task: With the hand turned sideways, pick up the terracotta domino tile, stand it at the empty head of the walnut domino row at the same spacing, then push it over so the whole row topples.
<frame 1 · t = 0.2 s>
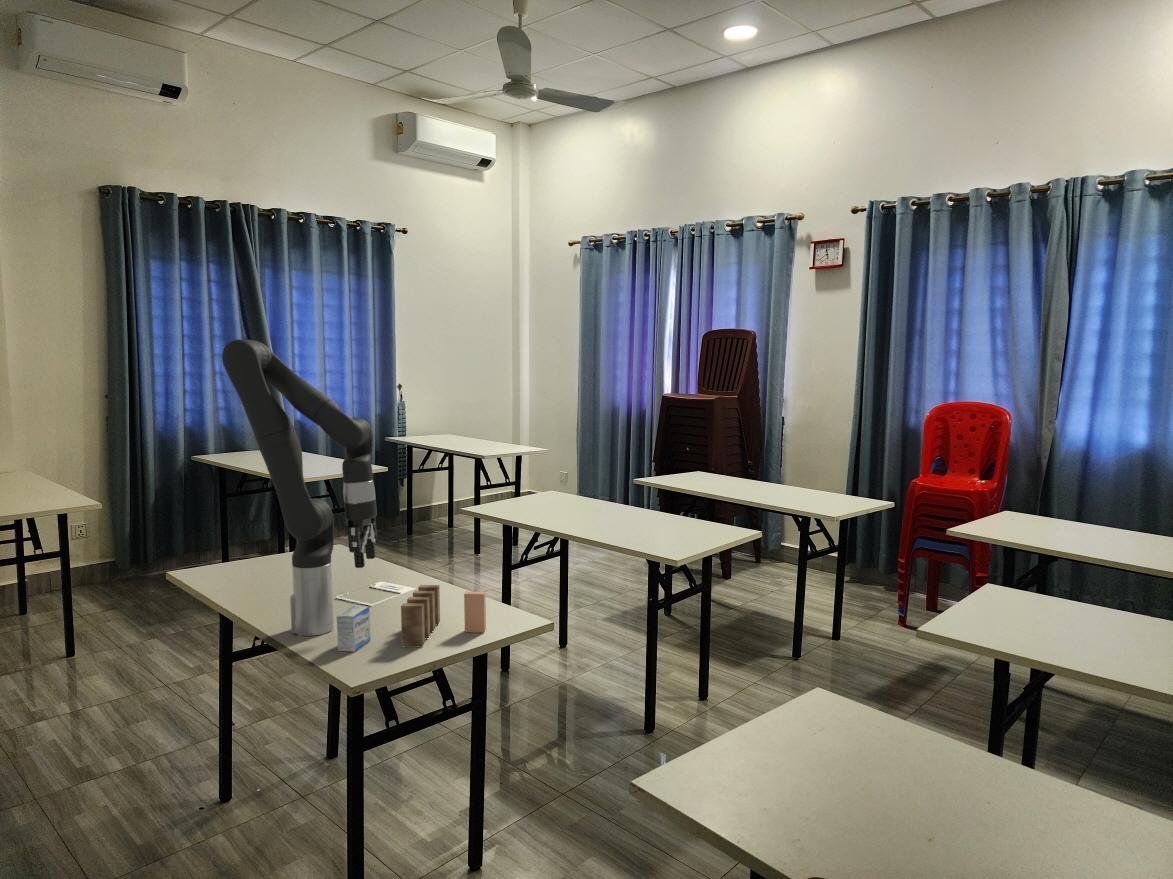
hand: (365, 562, 187), 18 cm above the table, tool pointing down, fingers open, 8 cm apart
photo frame: (376, 596, 219), on the table
tile 2: (429, 623, 194), on the table
tile 5: (413, 645, 179), on the table
medicine box: (354, 646, 178), on the table
tile 3: (424, 630, 189), on the table
tile 4: (419, 637, 184), on the table
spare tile: (475, 631, 188), on the table
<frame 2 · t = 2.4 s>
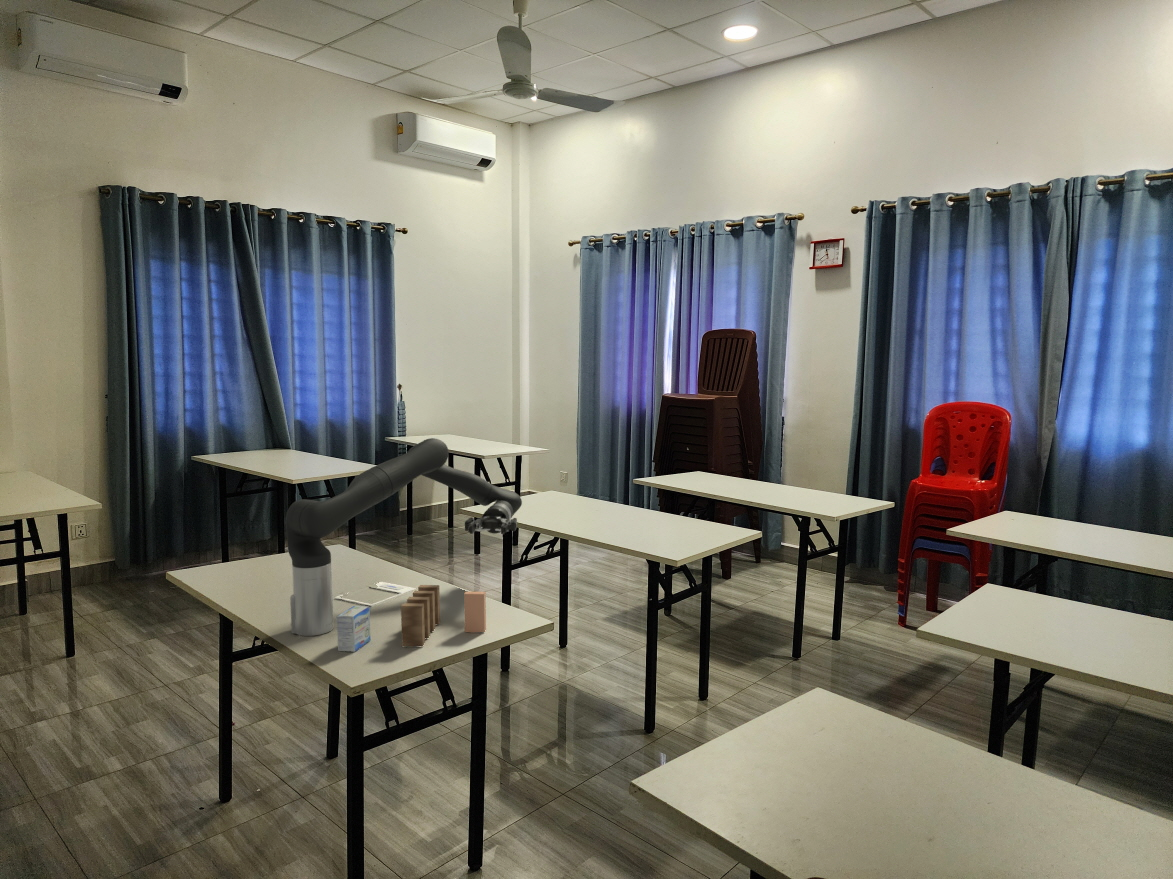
hand: (486, 530, 203), 22 cm above the table, tool horizontal, fingers open, 8 cm apart
nothing on the table moved.
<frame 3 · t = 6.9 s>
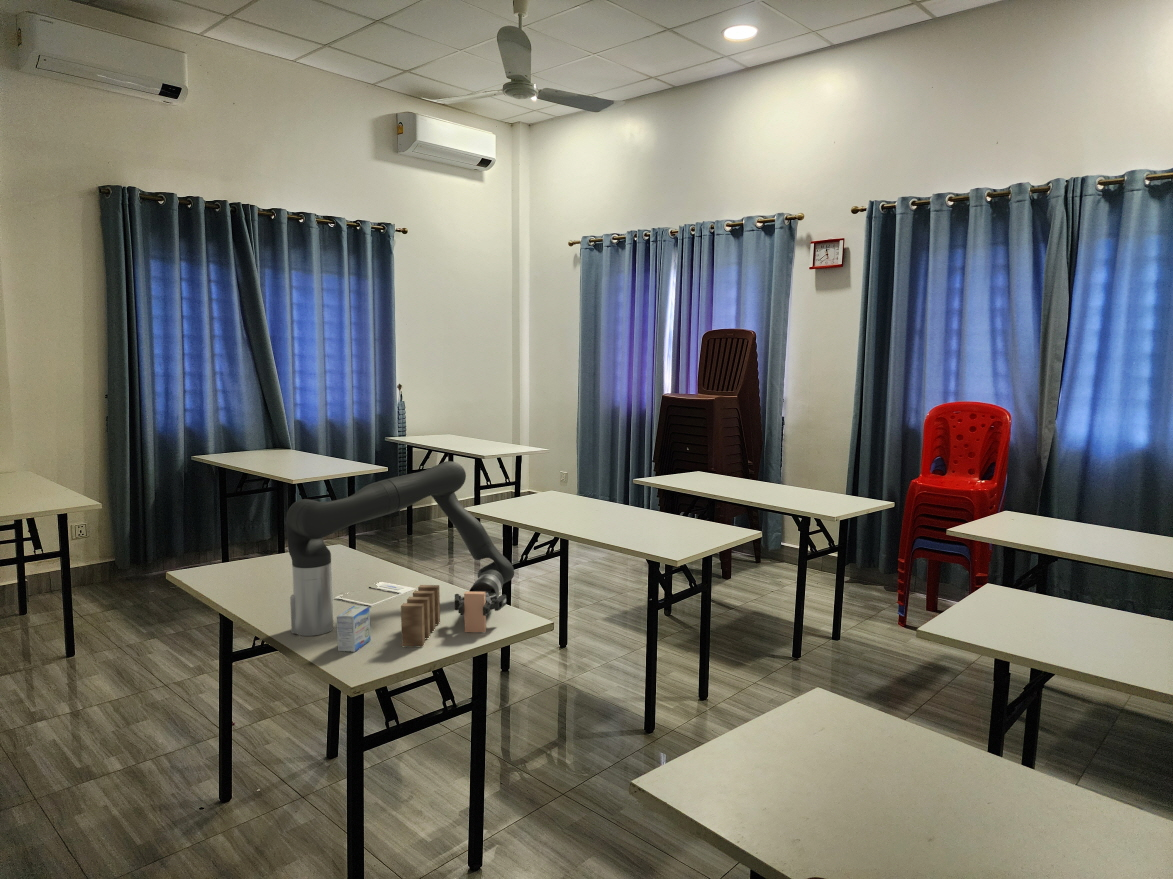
hand: (473, 611, 185), 6 cm above the table, tool horizontal, fingers closed on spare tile, 5 cm apart
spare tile: (475, 631, 188), on the table, touching gripper
everything else where it was.
when the fingers open (7 cm above the table, at t = 13.1 s): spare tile stays where it is, on the table.
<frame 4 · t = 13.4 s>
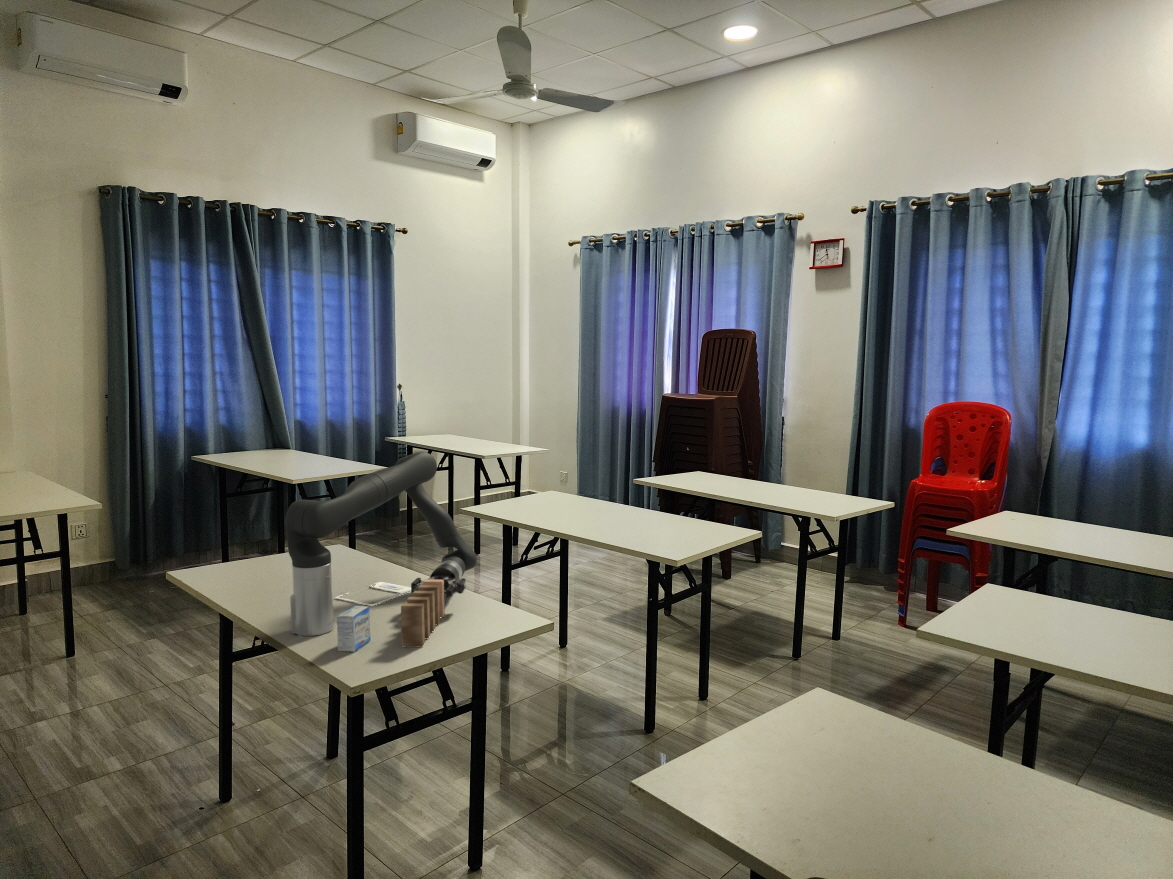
hand: (432, 593, 196), 7 cm above the table, tool horizontal, fingers open, 8 cm apart
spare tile: (434, 617, 199), on the table
everything else where it was.
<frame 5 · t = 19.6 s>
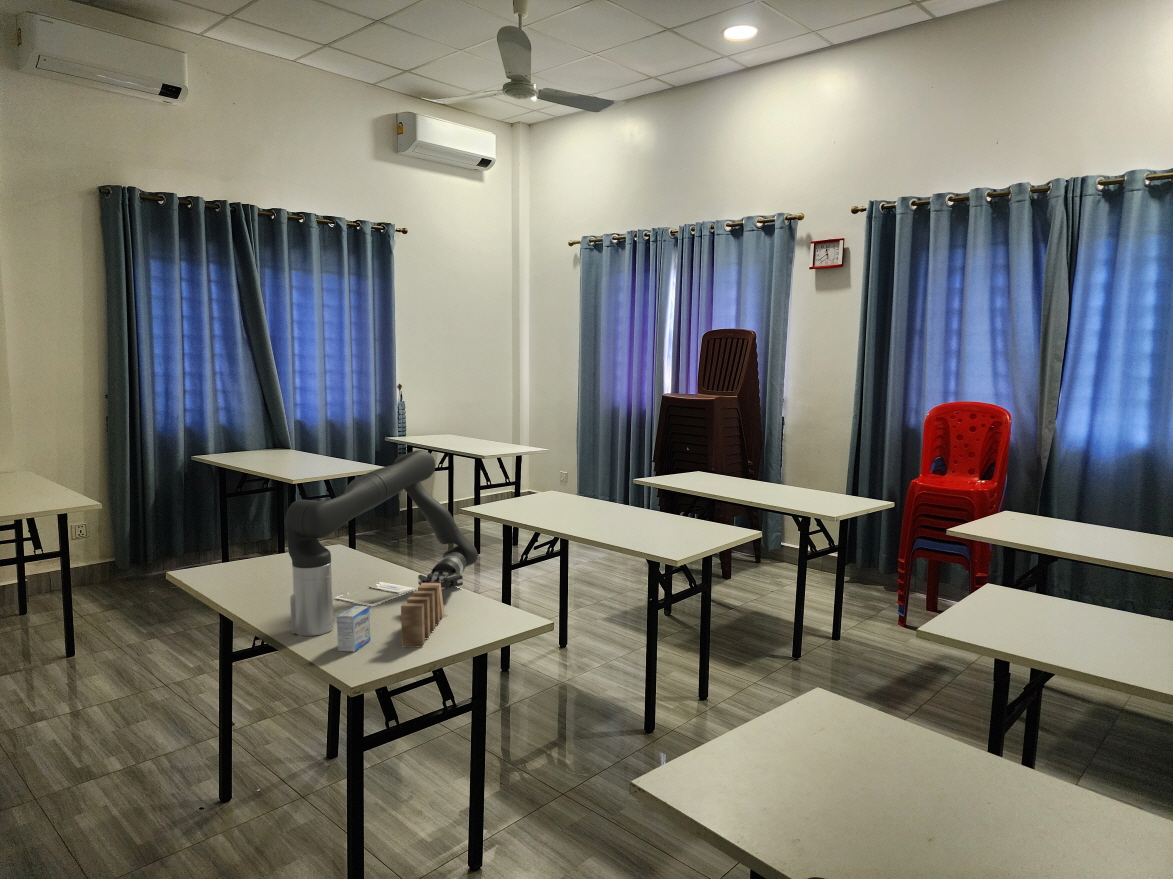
hand: (432, 589, 197), 8 cm above the table, tool horizontal, fingers closed
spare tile: (434, 616, 199), on the table, tilted 20°
everything else where it was.
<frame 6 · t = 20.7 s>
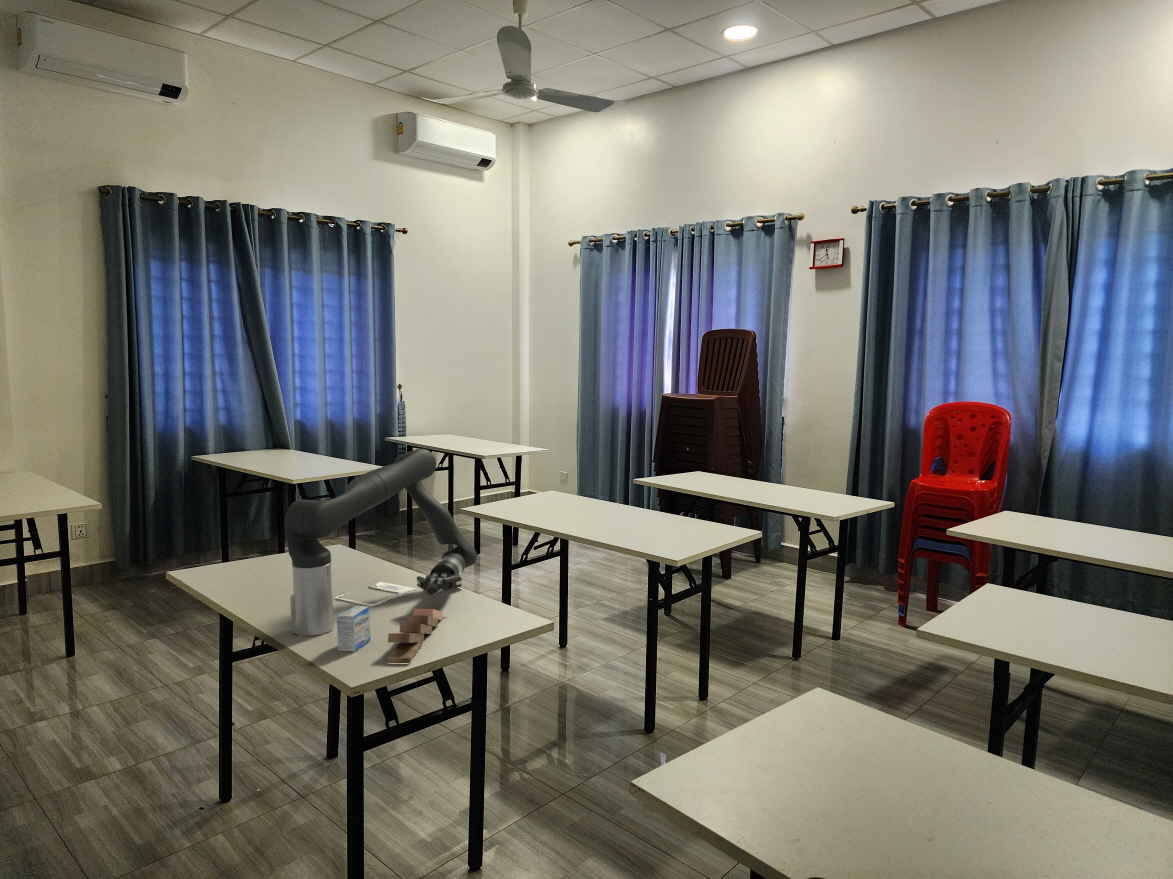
hand: (430, 591, 195), 8 cm above the table, tool horizontal, fingers closed
tile 2: (428, 622, 192), point 1 cm above the table, tilted 66°, touching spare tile, tile 3
tile 5: (411, 645, 177), on the table, tilted 90°, touching tile 4
tile 3: (422, 629, 187), point 1 cm above the table, tilted 68°, touching tile 2, tile 4
tile 4: (414, 637, 181), point 1 cm above the table, tilted 71°, touching tile 3, tile 5
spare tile: (433, 616, 197), point 1 cm above the table, tilted 67°, touching tile 2
everything else where it was.
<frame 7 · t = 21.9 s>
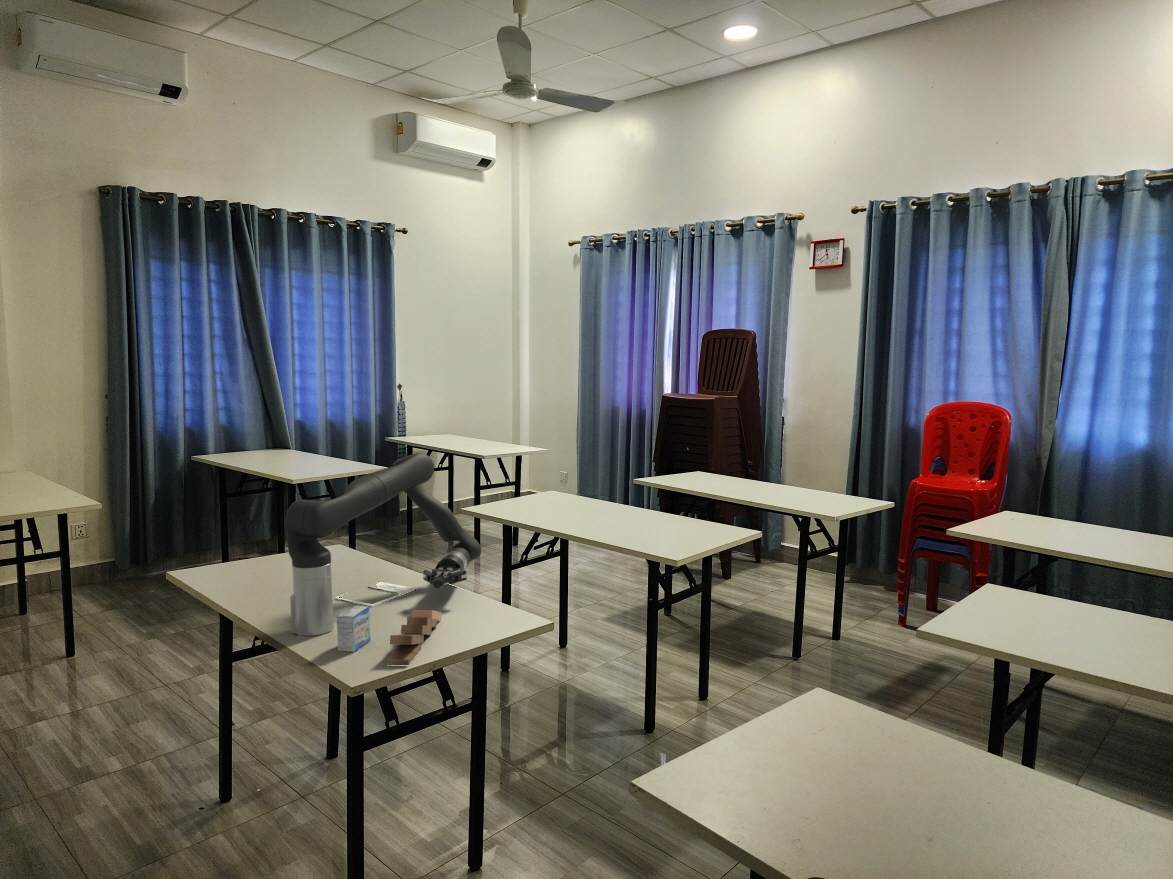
hand: (437, 584, 201), 8 cm above the table, tool horizontal, fingers closed
tile 2: (427, 623, 191), point 1 cm above the table, tilted 68°, touching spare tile
tile 5: (410, 647, 176), on the table, tilted 90°
tile 3: (421, 630, 186), point 1 cm above the table, tilted 68°
tile 4: (413, 638, 179), point 2 cm above the table, tilted 71°
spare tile: (432, 616, 196), point 1 cm above the table, tilted 68°, touching tile 2
everything else where it was.
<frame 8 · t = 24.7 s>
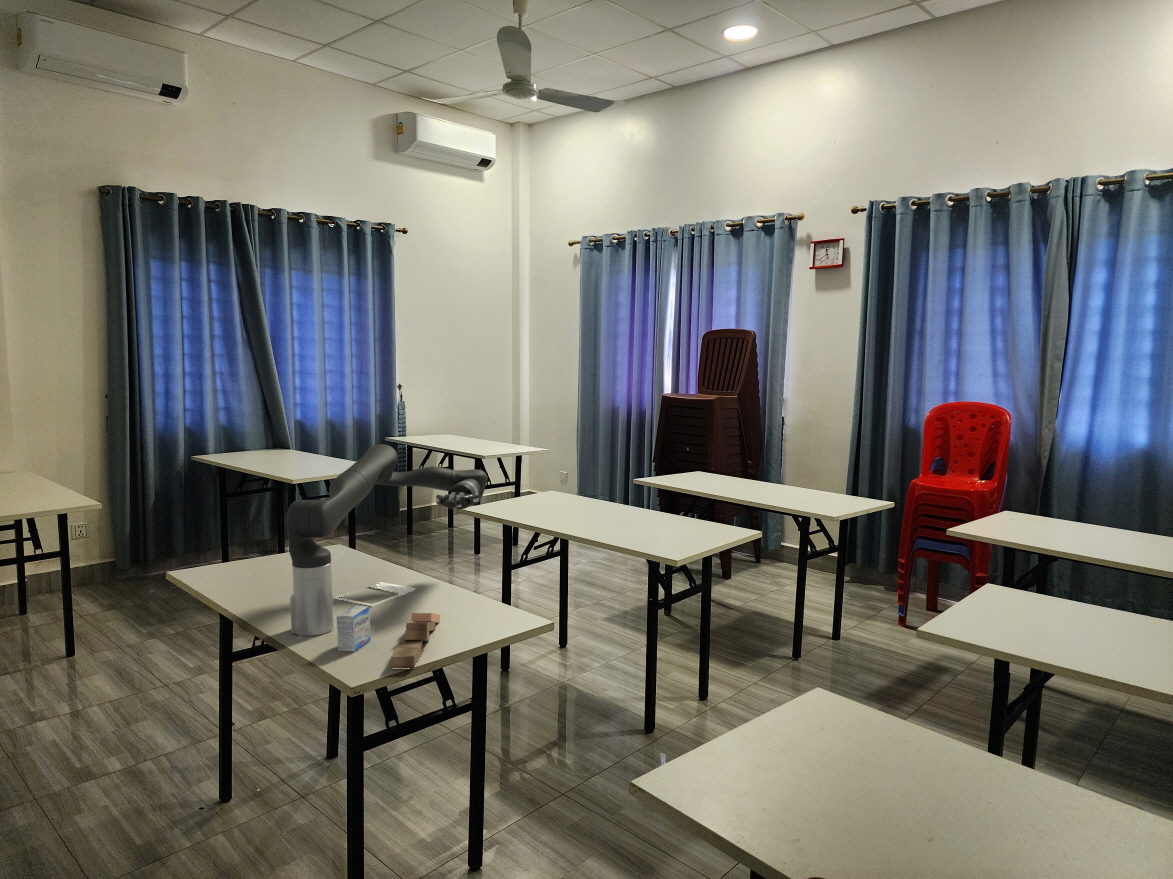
hand: (450, 505, 208), 28 cm above the table, tool horizontal, fingers closed
tile 2: (425, 625, 189), point 1 cm above the table, tilted 72°, touching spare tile
tile 5: (413, 650, 175), on the table, tilted 90°, touching tile 4
tile 3: (418, 636, 182), point 1 cm above the table, tilted 69°
tile 4: (411, 644, 173), point 2 cm above the table, tilted 90°, touching tile 5
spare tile: (430, 618, 195), point 1 cm above the table, tilted 70°, touching tile 2
everything else where it was.
at the end: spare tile inside the target area (2.7 cm from its centre), point 0.9 cm above the table; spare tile tilted 70°; tile 5 tilted 90° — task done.
